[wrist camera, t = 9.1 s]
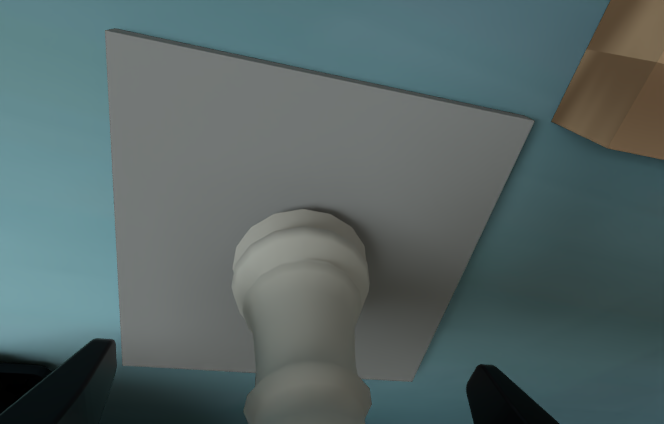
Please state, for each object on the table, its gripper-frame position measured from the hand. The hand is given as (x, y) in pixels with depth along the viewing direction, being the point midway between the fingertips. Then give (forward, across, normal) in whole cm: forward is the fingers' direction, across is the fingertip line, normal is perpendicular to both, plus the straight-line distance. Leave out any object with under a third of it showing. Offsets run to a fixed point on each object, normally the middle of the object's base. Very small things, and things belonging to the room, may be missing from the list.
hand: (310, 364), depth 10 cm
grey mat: (+5, 0, 0) cm, 5 cm away
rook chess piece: (+5, 0, 0) cm, 5 cm away
